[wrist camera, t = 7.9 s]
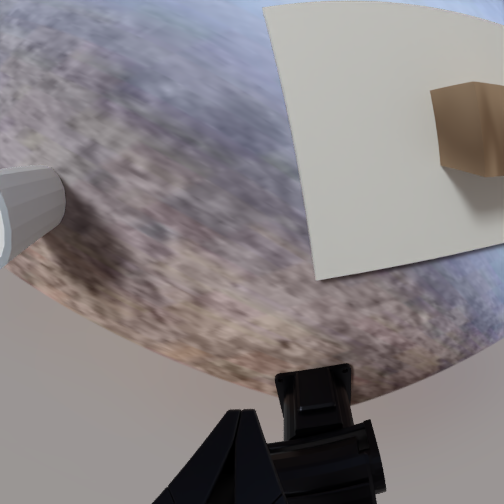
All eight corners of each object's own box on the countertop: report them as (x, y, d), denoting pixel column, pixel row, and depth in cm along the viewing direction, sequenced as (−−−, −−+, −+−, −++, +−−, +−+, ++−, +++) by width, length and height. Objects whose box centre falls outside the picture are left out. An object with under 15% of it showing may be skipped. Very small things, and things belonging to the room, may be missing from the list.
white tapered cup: (81, 227, 20) (23, 262, 14) (31, 244, 21) (-21, 276, 15) (59, 144, 18) (-7, 155, 12) (11, 172, 19) (-47, 191, 13)
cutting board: (545, 227, 17) (551, 230, 16) (314, 274, 20) (315, 280, 19) (525, 37, 11) (532, 36, 10) (262, 13, 14) (262, 7, 13)
